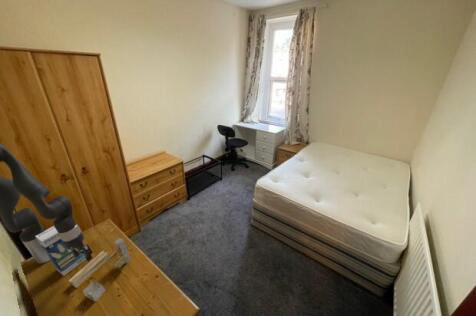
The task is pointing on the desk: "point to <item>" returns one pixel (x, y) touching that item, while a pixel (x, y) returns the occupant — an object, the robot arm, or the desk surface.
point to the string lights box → (59, 251)
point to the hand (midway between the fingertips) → (84, 257)
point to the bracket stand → (96, 289)
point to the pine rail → (88, 269)
